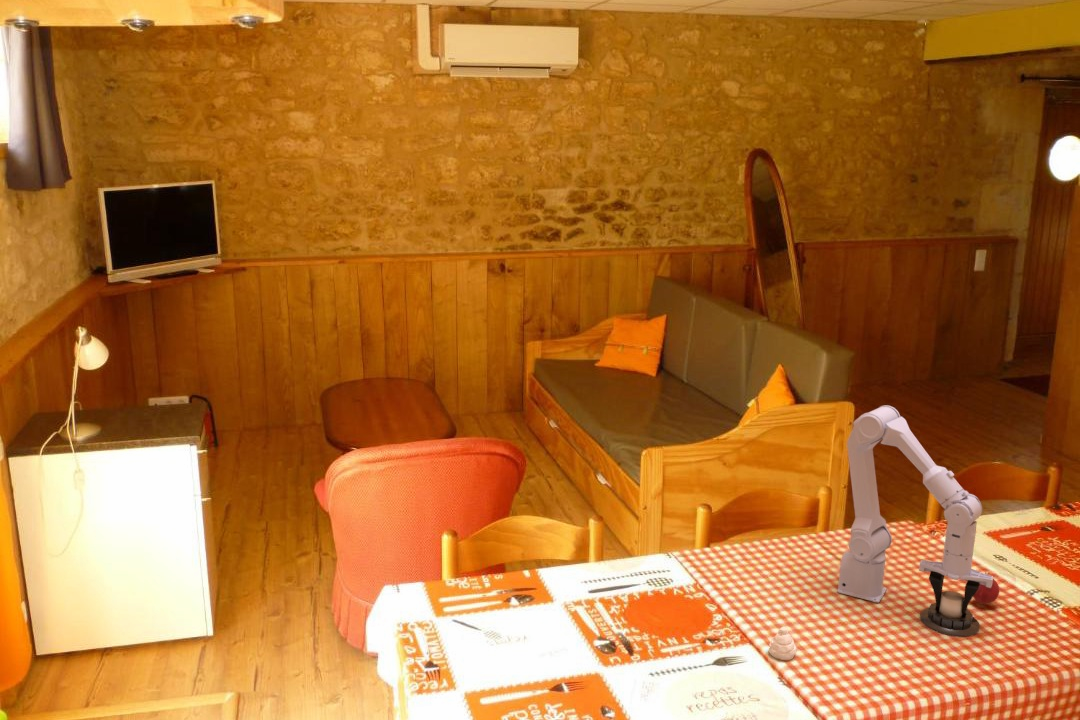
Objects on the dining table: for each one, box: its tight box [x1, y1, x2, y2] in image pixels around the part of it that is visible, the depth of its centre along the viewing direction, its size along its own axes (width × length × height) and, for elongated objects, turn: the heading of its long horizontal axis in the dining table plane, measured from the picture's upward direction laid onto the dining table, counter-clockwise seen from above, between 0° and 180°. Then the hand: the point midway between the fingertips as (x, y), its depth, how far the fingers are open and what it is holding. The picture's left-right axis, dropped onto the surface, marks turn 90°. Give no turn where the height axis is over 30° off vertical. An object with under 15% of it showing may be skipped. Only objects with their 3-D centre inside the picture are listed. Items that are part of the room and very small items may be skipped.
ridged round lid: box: [919, 602, 981, 638], centre depth 209 cm, size 12×12×3 cm
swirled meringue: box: [768, 626, 797, 661], centre depth 195 cm, size 6×6×6 cm
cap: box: [939, 590, 964, 619], centre depth 208 cm, size 5×5×5 cm
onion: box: [972, 570, 1000, 606], centre depth 216 cm, size 6×6×8 cm
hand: (951, 608), depth 208 cm, fingers closed on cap, 5 cm apart
